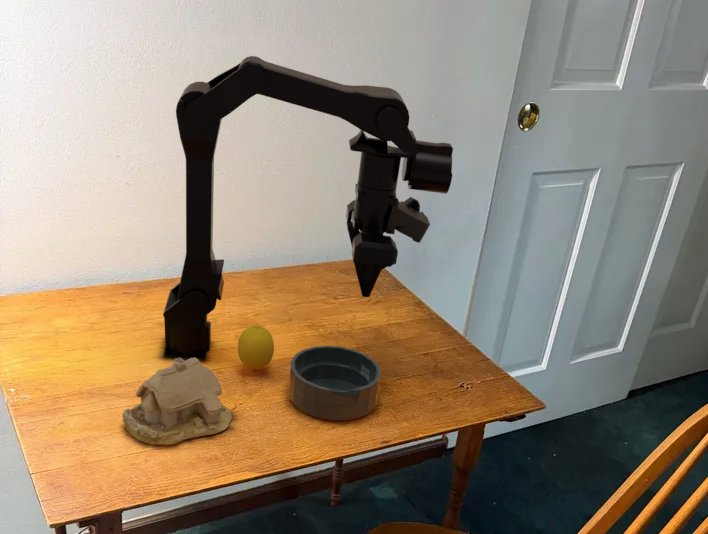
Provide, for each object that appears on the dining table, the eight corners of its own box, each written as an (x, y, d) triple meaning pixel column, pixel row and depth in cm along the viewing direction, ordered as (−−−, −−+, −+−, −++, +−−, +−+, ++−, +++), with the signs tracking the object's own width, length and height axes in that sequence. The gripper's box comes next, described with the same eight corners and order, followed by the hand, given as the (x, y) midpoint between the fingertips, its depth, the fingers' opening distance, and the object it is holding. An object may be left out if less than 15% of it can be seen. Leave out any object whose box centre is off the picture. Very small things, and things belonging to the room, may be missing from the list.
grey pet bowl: (288, 420, 115) (291, 388, 112) (288, 373, 126) (290, 342, 122) (380, 425, 117) (385, 394, 114) (372, 378, 128) (376, 349, 125)
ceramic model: (194, 390, 117) (194, 330, 112) (244, 423, 112) (247, 362, 107) (111, 422, 108) (106, 358, 102) (162, 460, 103) (159, 395, 97)
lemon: (265, 382, 122) (268, 336, 118) (231, 374, 123) (233, 328, 118) (277, 366, 127) (280, 321, 122) (244, 358, 127) (246, 313, 123)
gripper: (440, 212, 109) (421, 315, 118) (422, 172, 123) (406, 265, 132) (361, 203, 106) (347, 308, 115) (351, 162, 121) (340, 258, 130)
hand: (363, 284), depth 123 cm, fingers open, 9 cm apart
